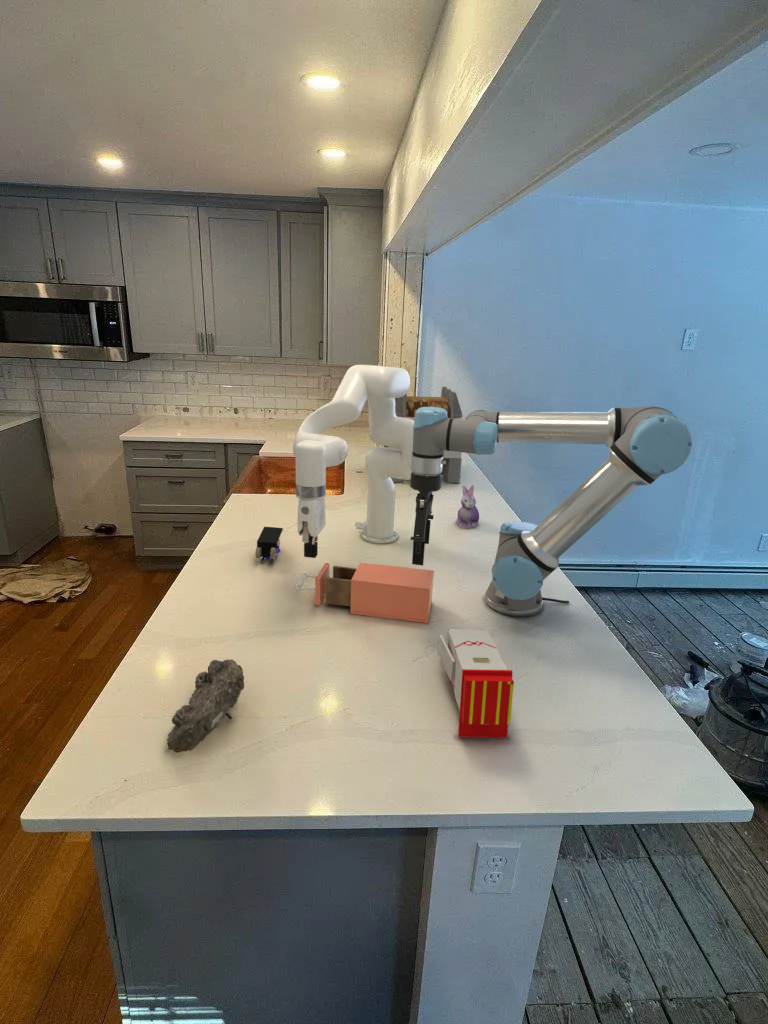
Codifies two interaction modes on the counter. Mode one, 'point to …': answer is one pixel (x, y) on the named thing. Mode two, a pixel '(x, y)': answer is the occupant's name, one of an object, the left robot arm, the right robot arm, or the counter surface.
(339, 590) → the drawer
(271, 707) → the counter surface
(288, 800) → the counter surface
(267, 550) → the figurine character
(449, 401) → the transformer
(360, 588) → the cabinet
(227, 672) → the fossil
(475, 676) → the toy
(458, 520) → the figurine
